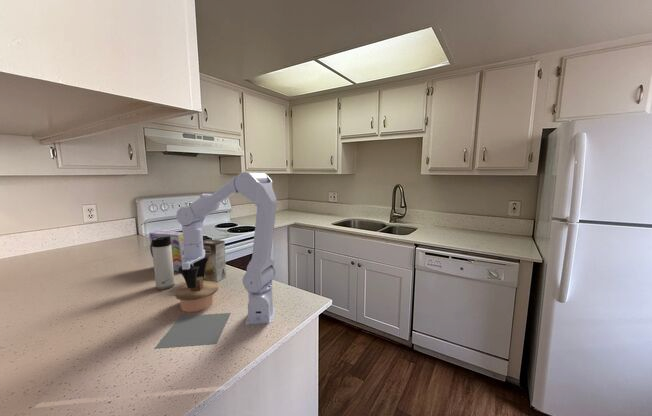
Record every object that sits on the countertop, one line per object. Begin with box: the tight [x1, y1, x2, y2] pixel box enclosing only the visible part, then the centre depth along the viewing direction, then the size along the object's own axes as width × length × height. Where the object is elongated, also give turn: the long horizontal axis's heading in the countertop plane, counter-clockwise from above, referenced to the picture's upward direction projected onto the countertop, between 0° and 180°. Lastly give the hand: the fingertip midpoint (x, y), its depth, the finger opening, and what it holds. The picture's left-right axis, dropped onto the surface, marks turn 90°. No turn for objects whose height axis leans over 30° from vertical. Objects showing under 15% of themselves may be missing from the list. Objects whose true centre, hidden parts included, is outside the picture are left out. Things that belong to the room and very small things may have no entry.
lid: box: [174, 277, 219, 301], centre depth 87 cm, size 13×13×4 cm
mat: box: [153, 312, 232, 350], centre depth 74 cm, size 15×15×1 cm
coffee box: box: [203, 238, 227, 283], centre depth 110 cm, size 9×6×16 cm
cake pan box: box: [148, 229, 184, 273], centre depth 121 cm, size 19×5×18 cm, turn 70°
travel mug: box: [152, 236, 176, 291], centre depth 102 cm, size 6×7×20 cm
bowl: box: [179, 293, 216, 313], centre depth 88 cm, size 10×10×5 cm
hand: (196, 282), depth 87 cm, fingers open, 7 cm apart
